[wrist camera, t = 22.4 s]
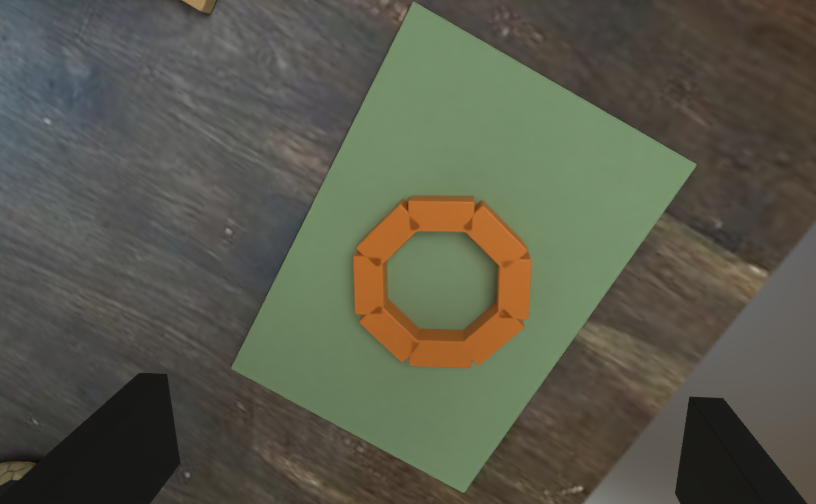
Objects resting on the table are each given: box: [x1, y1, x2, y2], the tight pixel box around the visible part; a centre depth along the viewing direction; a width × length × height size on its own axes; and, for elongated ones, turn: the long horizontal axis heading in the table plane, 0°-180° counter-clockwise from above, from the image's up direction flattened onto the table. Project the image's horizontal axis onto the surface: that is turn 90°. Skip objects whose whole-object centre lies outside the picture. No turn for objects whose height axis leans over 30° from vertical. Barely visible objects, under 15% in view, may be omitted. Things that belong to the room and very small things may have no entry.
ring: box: [353, 195, 532, 368], centre depth 26 cm, size 8×8×1 cm
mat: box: [231, 2, 696, 493], centre depth 27 cm, size 20×14×1 cm
